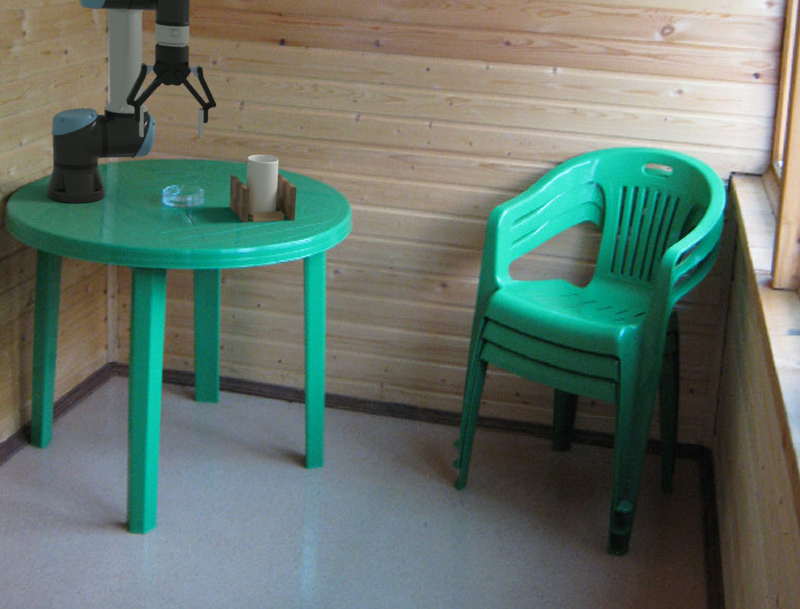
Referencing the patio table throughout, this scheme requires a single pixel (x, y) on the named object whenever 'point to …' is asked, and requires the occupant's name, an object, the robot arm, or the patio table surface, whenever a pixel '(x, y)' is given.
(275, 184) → the cup
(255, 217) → the offcut slab upper
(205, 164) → the patio table surface
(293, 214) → the rack
